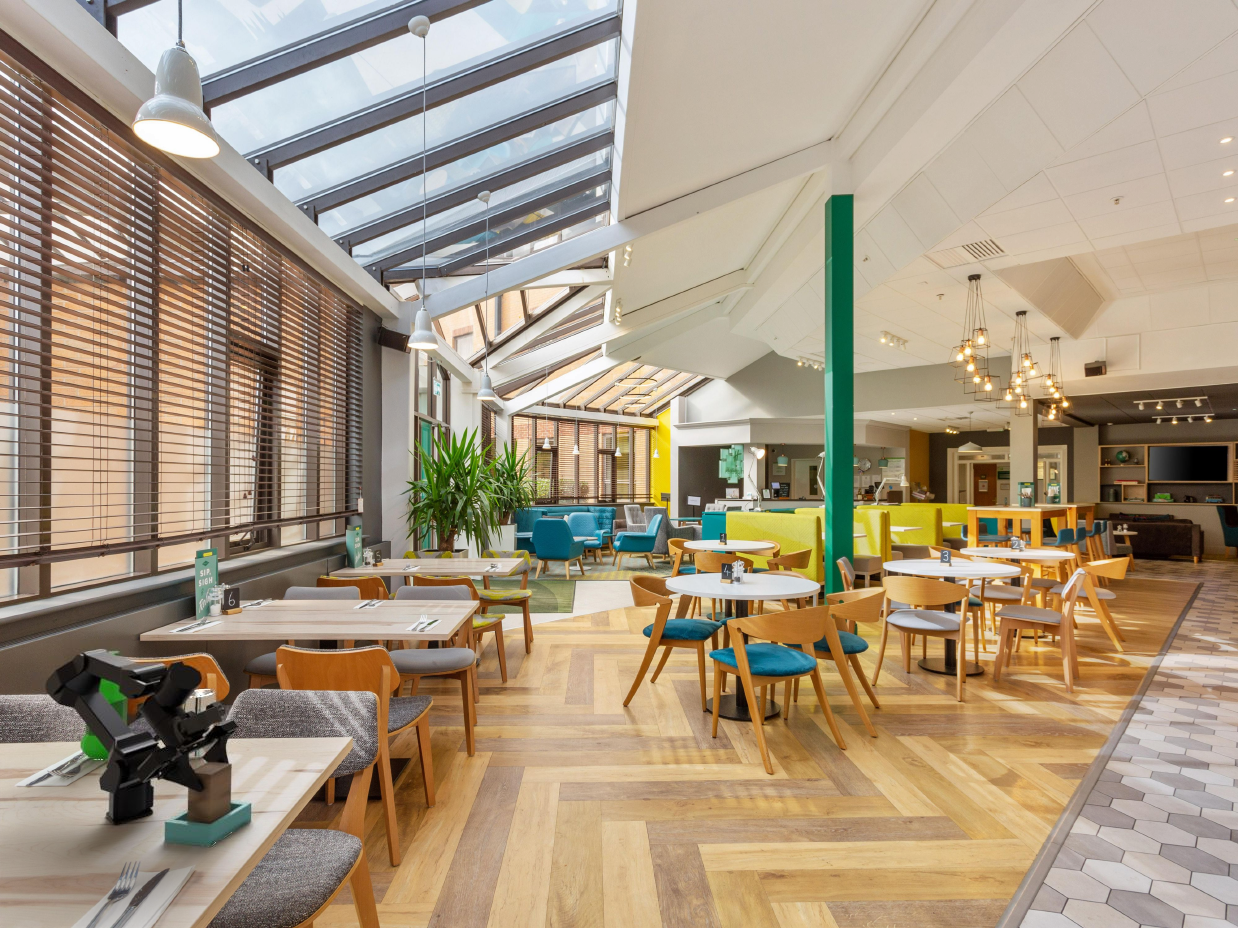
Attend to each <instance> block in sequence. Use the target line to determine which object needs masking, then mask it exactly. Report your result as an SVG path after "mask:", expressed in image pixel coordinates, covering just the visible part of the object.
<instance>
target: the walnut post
mask: <svg viewBox="0 0 1238 928" xmlns="http://www.w3.org/2000/svg"><path fill="white" fill-rule="evenodd" d="M232 768H233V767H232V763H229V764H228V763H219V762H208V763H207V762H206V763H204V764H202V765H200V766H198V767H196V768H193V770H194V771H195V773H196V774H197V776H198V777H199V779H200V780H201V782H202V784H203V786H204V790H203V791H202V792H197V791H195V790H192V789H190V788H187V809H188V817H187V821H188V822H196V823H204V824H212V823H213V822H215V821H217V820H218V819H220V818H222V817H223V816H225V815H227V814H228V813H230V812H231V800H232Z"/></svg>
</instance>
